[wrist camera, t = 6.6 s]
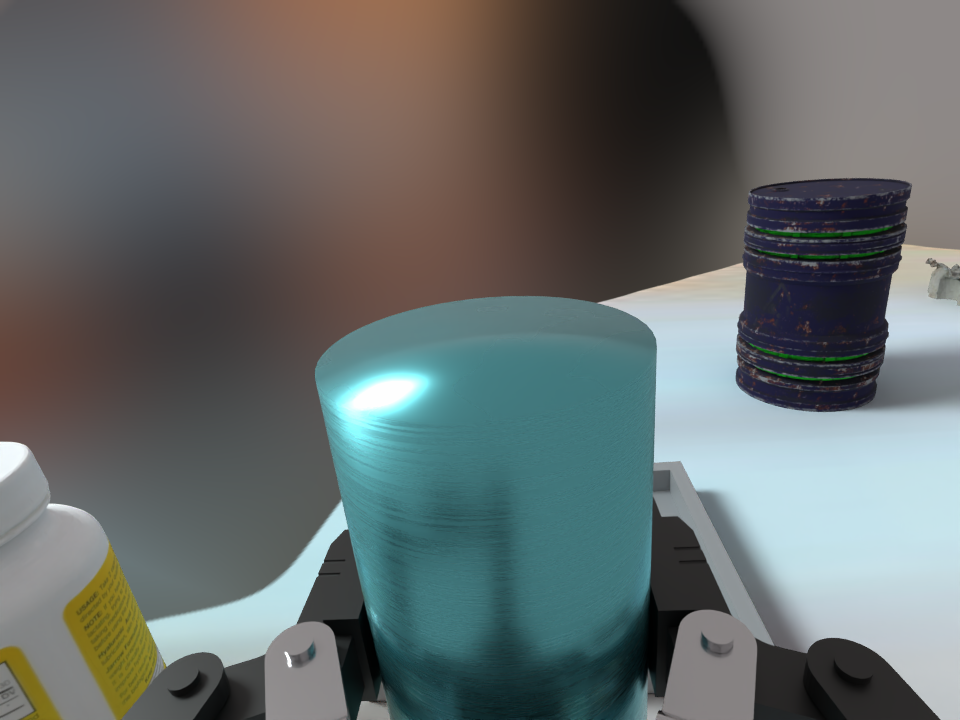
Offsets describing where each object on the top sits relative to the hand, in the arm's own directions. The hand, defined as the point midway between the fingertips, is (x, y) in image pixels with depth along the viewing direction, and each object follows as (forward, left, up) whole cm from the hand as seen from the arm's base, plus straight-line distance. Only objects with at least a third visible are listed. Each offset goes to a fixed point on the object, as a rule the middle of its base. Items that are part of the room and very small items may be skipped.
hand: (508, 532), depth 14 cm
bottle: (0, -3, -9) cm, 9 cm away
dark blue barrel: (+22, +30, -12) cm, 40 cm away
